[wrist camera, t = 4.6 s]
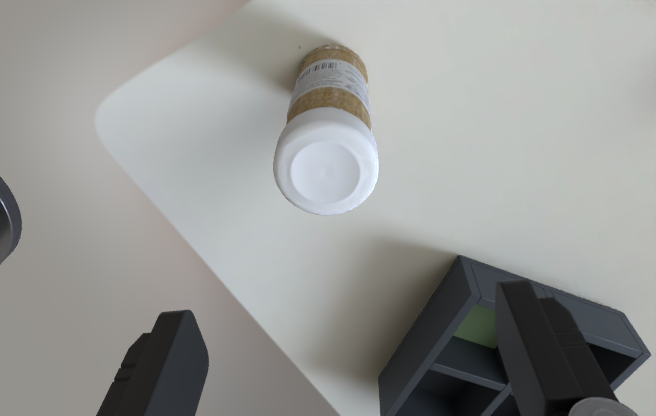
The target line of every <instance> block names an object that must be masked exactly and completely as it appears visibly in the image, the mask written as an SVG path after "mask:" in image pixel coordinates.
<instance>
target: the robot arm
mask: <svg viewBox="0 0 656 416" xmlns="http://www.w3.org/2000/svg"><path fill="white" fill-rule="evenodd" d="M495 332H496V339H497V344H498V348H499V351H500V354H501V357H502V360H503V364H504V367H505V370H506V373H507V376H508V379H509V382H510V385H511V388H512V391H513V394H514V397H515V400H516V403H517V406H518V409H519V412H520V415H521V416H638V415H637V414H636V413H635V412H634V411H633V410H631V409H630V408H629V407H627V406H625V405H624V404H622V403H620V402H619V401H618V399H617V398H616V396H615V394H614V392H613V391H612V389H611V387H610V385H609V383H608V381H607V379H606V378H605V376H604V374H603V372H602V370H601V368H600V366H599V364H598V363H597V361H596V359H595V357H594V355H593V353H592V351H591V350H590V348H589V346H588V345H587V344H586V340H585V338H584V336H583V335H582V333H581V331H579V327H578V325H577V323H576V321H575V320H574V318H573V316H572V314H571V312H570V311H569V310H568V309H567V308H566V307H565V306H563V305H562V304H561V303H560V302H559V301H557V300H556V299H555V298H554V297H547V298H538V297H537V295H536V293H535V291H534V289H533V287H532V285H531V283H530V281H529V279H527V278H525V279H515V280H504V281H497V282H496V300H495ZM208 367H209V358H208V351H207V348H206V345H205V343H204V340H203V338H202V335H201V332H200V330H199V327H198V325H197V322H196V319H195V317H194V314H193V313H192V311H191V310H182V311H170V312H162V313H161V314H160V315H159V316H158V318H157V321H156V323H155V325H154V327H153V330H152V332H151V333H143V334H142V335H141V336H140V337H139V339H138V340H137V341H136V342H135V343H134V344H133V345H132V346H131V347H130V348H129V349H128V352H127V354H126V355H125V358H124V360H123V362H122V364H121V368H119V370H118V372H117V374H116V376H115V378H114V382H112V384H111V386H110V388H109V390H108V393H107V395H106V397H105V399H104V401H103V403H102V405H101V407H100V409H99V411H98V413H97V415H96V416H195V413H196V410H197V407H198V403H199V400H200V397H201V393H202V390H203V386H204V383H205V380H206V377H207V372H208Z"/></svg>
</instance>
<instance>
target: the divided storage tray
mask: <svg viewBox="0 0 656 416" xmlns="http://www.w3.org/2000/svg"><path fill="white" fill-rule="evenodd" d="M515 279H525V278H523V277H520V276H518V275H515V274H512V273H509V272H506V271H503V270H501V269H498V268H495V267H492V266H489V265H486V264H484V263H481V262H478V261H475V260H472V259H469V258H467V257H464V256H461V255H459V256H458V258H457V260H456V261H455V263H454V264H453V266H452V267H451V269H450V270H449V272H448V273H447V275H446V276H445V278H444V279H443V281H442V282H441V284H440V285H439V287H438V288H437V290H436V291H435V293H434V294H433V296H432V297H431V299H430V300H429V302H428V303H427V305H426V306H425V308H424V309H423V311H422V312H421V314H420V315H419V317H418V319H417V320H416V322H415V323H414V325H413V326H412V328H411V329H410V331H409V332H408V334H407V335H406V337H405V338H404V340H403V341H402V343H401V344H400V346H399V347H398V349H397V350H396V352H395V353H394V355H393V356H392V358H391V359H390V361H389V362H388V364H387V365H386V367H385V368H384V370H383V371H382V373H381V374H380V376H379V378H378V381H379V398H380V414H381V416H521V415H520V412H519V409H518V406H517V403H516V400H515V397H514V394H513V391H512V388H511V385H510V382H509V379H508V376H507V373H506V370H505V367H504V364H503V360H502V357H501V354H500V351H499V348H498V344H497V339H496V332H495V300H496V282H497V281H504V280H515ZM529 281H530V283H531V285H532V287H533V289H534V291H535V293H536V295H537V297H538V298H547V297H554V298H555V299H556V300H557V301H559V302H560V303H561V304H562V305H563V306H565V307H566V308H567V309H568V310H569V311H570V312H571V314H572V316H573V318H574V320H575V321H576V323H577V325H578V327H579V331H581V333H582V335H583V336H584V338H585V340H586V344H587V345H588V346H589V348H590V350H591V351H592V353H593V355H594V357H595V359H596V361H597V363H598V364H599V366H600V368H601V370H602V372H603V374H604V376H605V378H606V379H607V381H608V383H609V385H610V387H611V389H612V391H613V392H614V391H615V390H616V389H617V388H618V387H619V386H620V385H621V384H622V383H623V382H624V381H625V380H626V379H627V378H628V377H629V376H630V375H631V374H632V373H633V372H634V371H636V370H637V369H638V368H639V367H640V366H641V365H642V364H643V363H644V362H645V361H646V360H647V359H648V358H649V357H650V356H651V353H650V352H649V350H648V349H647V347H646V346H645V344H644V343H643V341H642V340H641V338H640V337H639V335H638V334H637V332H636V331H635V329H634V328H633V326H632V325H631V323H630V322H629V320H628V319H627V317H626V315H625V314H624V313H622V312H619V311H617V310H614V309H611V308H608V307H605V306H602V305H600V304H597V303H594V302H591V301H588V300H585V299H583V298H580V297H577V296H574V295H571V294H568V293H566V292H563V291H560V290H557V289H554V288H551V287H549V286H546V285H543V284H540V283H537V282H535V281H532V280H529Z"/></svg>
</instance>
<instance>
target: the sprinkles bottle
mask: <svg viewBox="0 0 656 416" xmlns="http://www.w3.org/2000/svg"><path fill="white" fill-rule="evenodd" d="M367 81H368V79H367V71H366V68H365V65H364V63H363V62H362V60H361V58H360V57H359V56H358V55H357V54H356V53H354V52H353V51H352V50H350V49H348V48H346V47H344V46H340V45H326V46H323V47H320V48H317V49H315V50H313V51H312V52H311V53H309V54H308V55H307V56H306V58H305V59H304V61H303V63H302V64H301V65H300V68H299V72H298V79H297V82H296V85H295V88H294V92H293V95H292V99H291V102H290V106H289V109H288V113H287V124H286V127H285V128H284V129H283V131H282V133H281V135H280V137H279V140H278V143H277V147H276V151H275V156H274V162H273V171H274V177H275V180H276V183H277V185H278V187H279V189H280V191H281V192H282V194H283V195H284V196H285V198H286V199H287V200H288V201H290V202H291V203H292V204H293V205H295V206H296V207H298V208H300V209H302V210H304V211H306V212H309V213H313V214H318V215H335V214H340V213H344V212H347V211H349V210H351V209H353V208H355V207H357V206H358V205H360V204H361V203H362V202H363V201H364V200H365V199H366V198H367V197H368V196H369V195H370V193H371V192H372V190H373V188H374V186H375V184H376V181H377V178H378V171H379V162H378V151H377V145H376V141H375V139H374V136H373V134H372V133H371V130H372V125H371V115H370V106H369V95H368V87H367Z"/></svg>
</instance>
